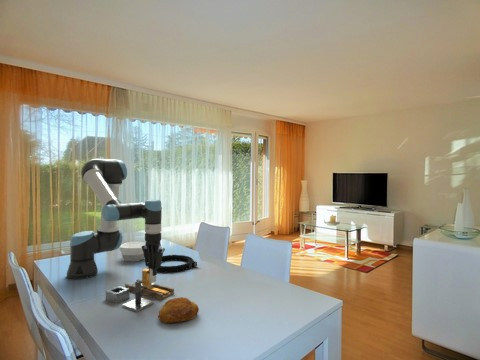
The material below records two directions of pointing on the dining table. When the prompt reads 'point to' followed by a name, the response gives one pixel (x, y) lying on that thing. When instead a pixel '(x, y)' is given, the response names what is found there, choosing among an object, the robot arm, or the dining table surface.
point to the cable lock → (182, 267)
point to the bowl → (132, 251)
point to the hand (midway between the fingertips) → (152, 281)
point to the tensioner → (147, 284)
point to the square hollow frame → (117, 294)
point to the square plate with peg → (138, 300)
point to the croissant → (178, 310)
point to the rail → (152, 293)
